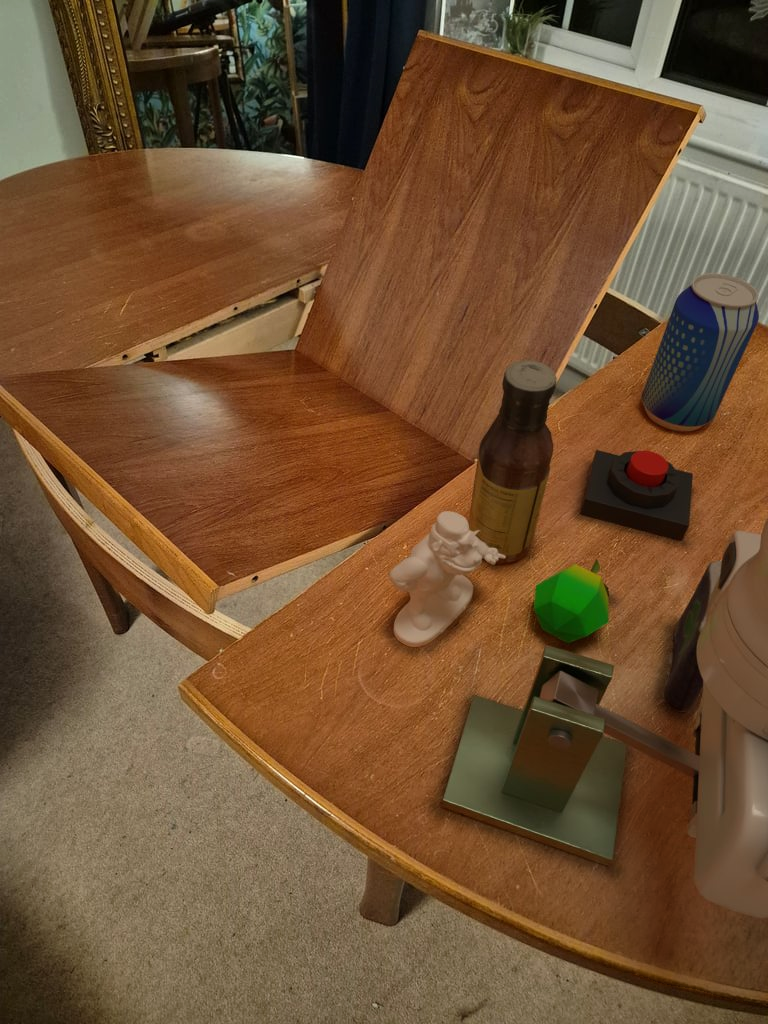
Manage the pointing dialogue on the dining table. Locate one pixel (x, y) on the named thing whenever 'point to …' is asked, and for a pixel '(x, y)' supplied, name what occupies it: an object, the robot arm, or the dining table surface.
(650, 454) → the button
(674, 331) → the beer can
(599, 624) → the apple
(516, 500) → the sauce bottle
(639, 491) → the control block
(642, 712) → the dining table surface
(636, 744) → the lever
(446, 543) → the figurine
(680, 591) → the dining table surface
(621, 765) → the bracket
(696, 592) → the eggplant half
